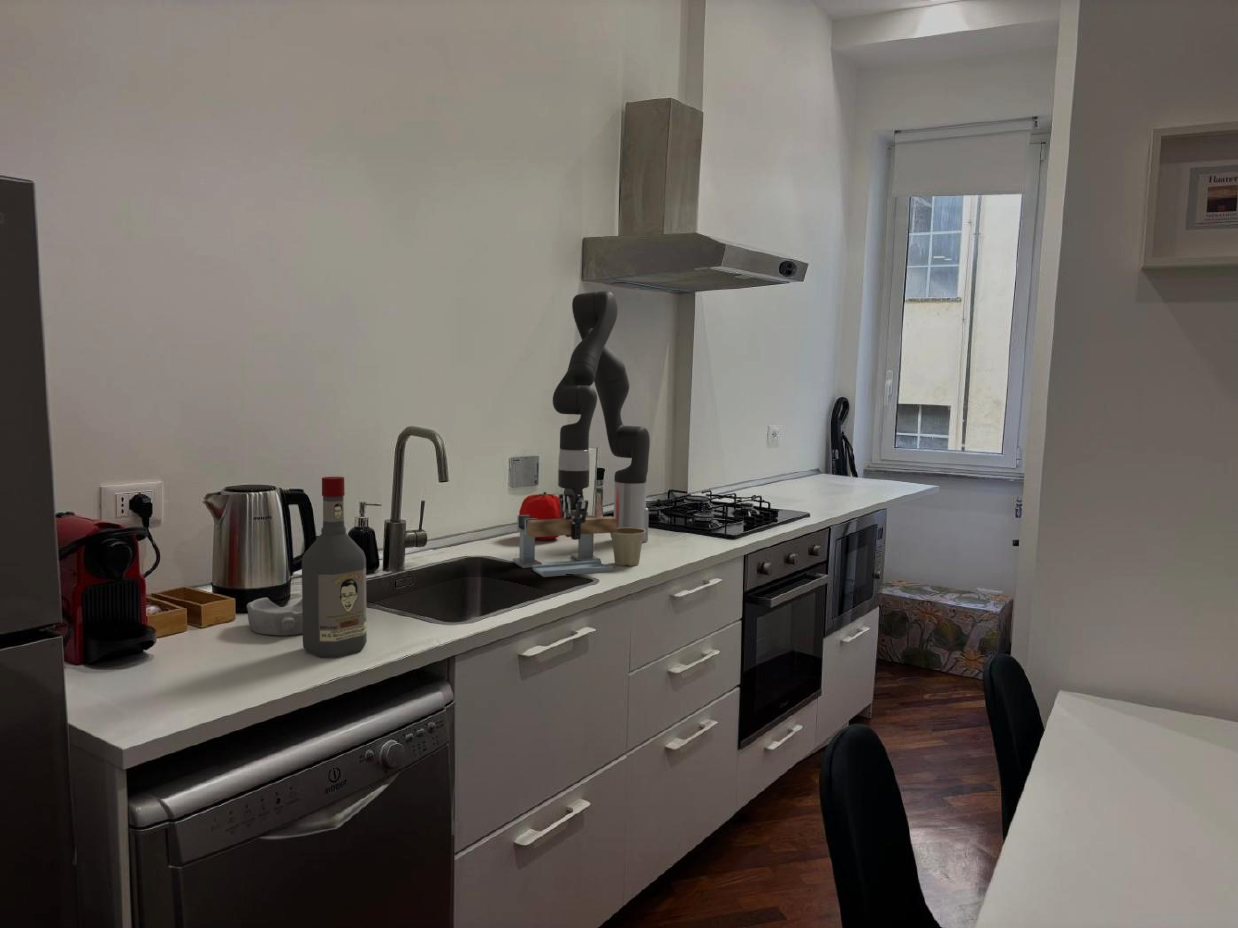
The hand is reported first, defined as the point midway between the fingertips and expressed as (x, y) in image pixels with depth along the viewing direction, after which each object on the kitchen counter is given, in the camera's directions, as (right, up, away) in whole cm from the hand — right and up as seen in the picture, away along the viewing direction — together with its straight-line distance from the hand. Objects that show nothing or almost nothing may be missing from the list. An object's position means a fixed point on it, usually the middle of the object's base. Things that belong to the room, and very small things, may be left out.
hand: (572, 537), depth 224 cm
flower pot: (+13, -8, +10) cm, 18 cm away
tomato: (-11, -4, +43) cm, 45 cm away
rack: (-5, -7, +11) cm, 14 cm away
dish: (-51, -13, -52) cm, 74 cm away
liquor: (-38, -14, -65) cm, 76 cm away
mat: (0, -8, +1) cm, 8 cm away
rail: (0, +1, 0) cm, 1 cm away
